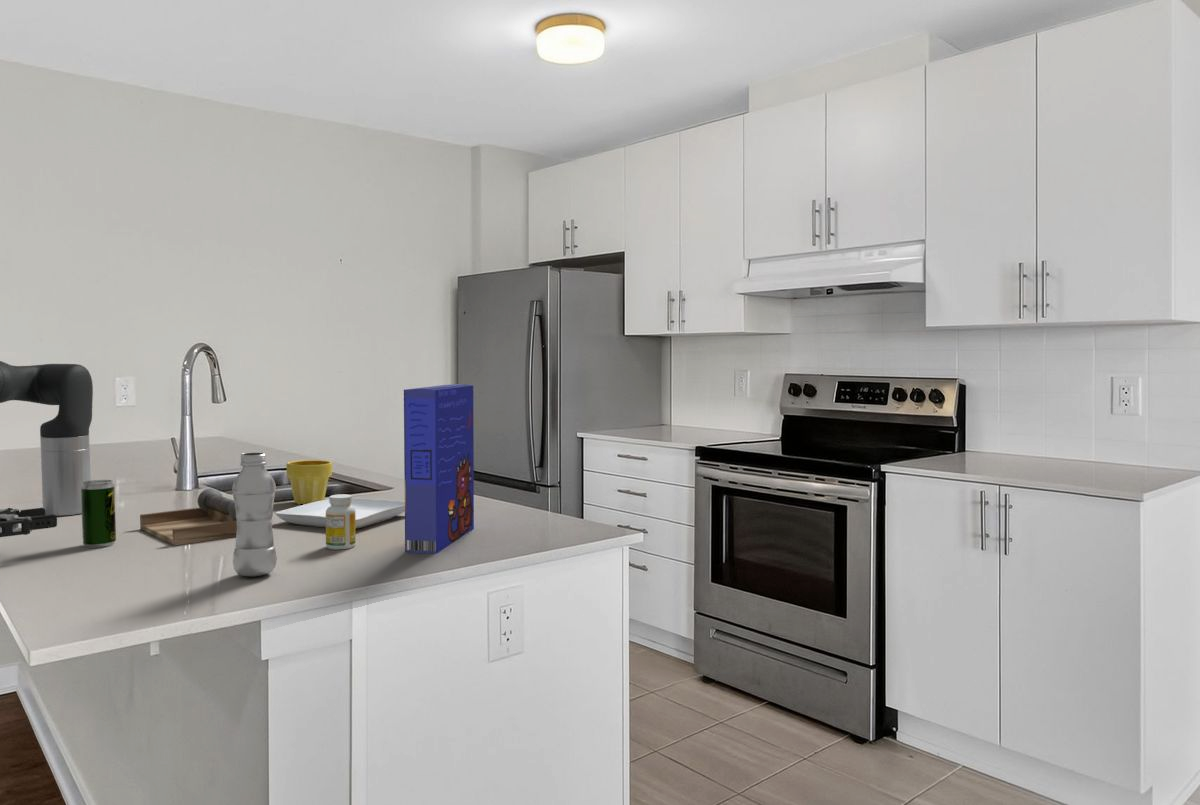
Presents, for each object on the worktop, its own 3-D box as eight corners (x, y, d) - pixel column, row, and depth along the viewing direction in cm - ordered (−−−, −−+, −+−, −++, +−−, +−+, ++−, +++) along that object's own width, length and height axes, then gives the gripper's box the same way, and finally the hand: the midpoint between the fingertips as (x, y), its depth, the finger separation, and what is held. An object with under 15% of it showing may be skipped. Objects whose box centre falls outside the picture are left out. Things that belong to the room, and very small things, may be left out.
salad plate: (272, 527, 179) (271, 510, 178) (339, 509, 198) (338, 494, 198) (354, 536, 171) (354, 519, 170) (416, 516, 190) (415, 501, 190)
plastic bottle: (240, 570, 142) (238, 451, 141) (282, 569, 143) (280, 451, 141) (227, 581, 136) (224, 456, 134) (270, 580, 136) (268, 456, 135)
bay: (140, 529, 174) (139, 495, 173) (220, 518, 185) (219, 486, 185) (175, 545, 160) (174, 508, 159) (259, 533, 171) (258, 498, 170)
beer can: (83, 549, 156) (81, 484, 155) (82, 544, 160) (80, 481, 160) (117, 546, 159) (115, 482, 158) (115, 540, 163) (113, 478, 163)
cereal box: (446, 527, 177) (445, 383, 175) (473, 528, 176) (473, 384, 174) (405, 552, 156) (403, 388, 154) (436, 553, 155) (435, 388, 153)
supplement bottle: (334, 551, 156) (333, 499, 155) (320, 546, 160) (320, 495, 159) (361, 547, 160) (360, 496, 159) (347, 542, 163) (347, 492, 163)
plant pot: (339, 499, 209) (338, 459, 209) (321, 507, 199) (321, 465, 199) (299, 498, 210) (298, 459, 210) (279, 506, 200) (278, 464, 200)
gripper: (-57, 514, 137) (60, 501, 149) (-70, 502, 147) (40, 491, 159) (-55, 560, 138) (61, 544, 149) (-68, 545, 148) (42, 531, 159)
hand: (50, 516), depth 154 cm, fingers open, 8 cm apart
